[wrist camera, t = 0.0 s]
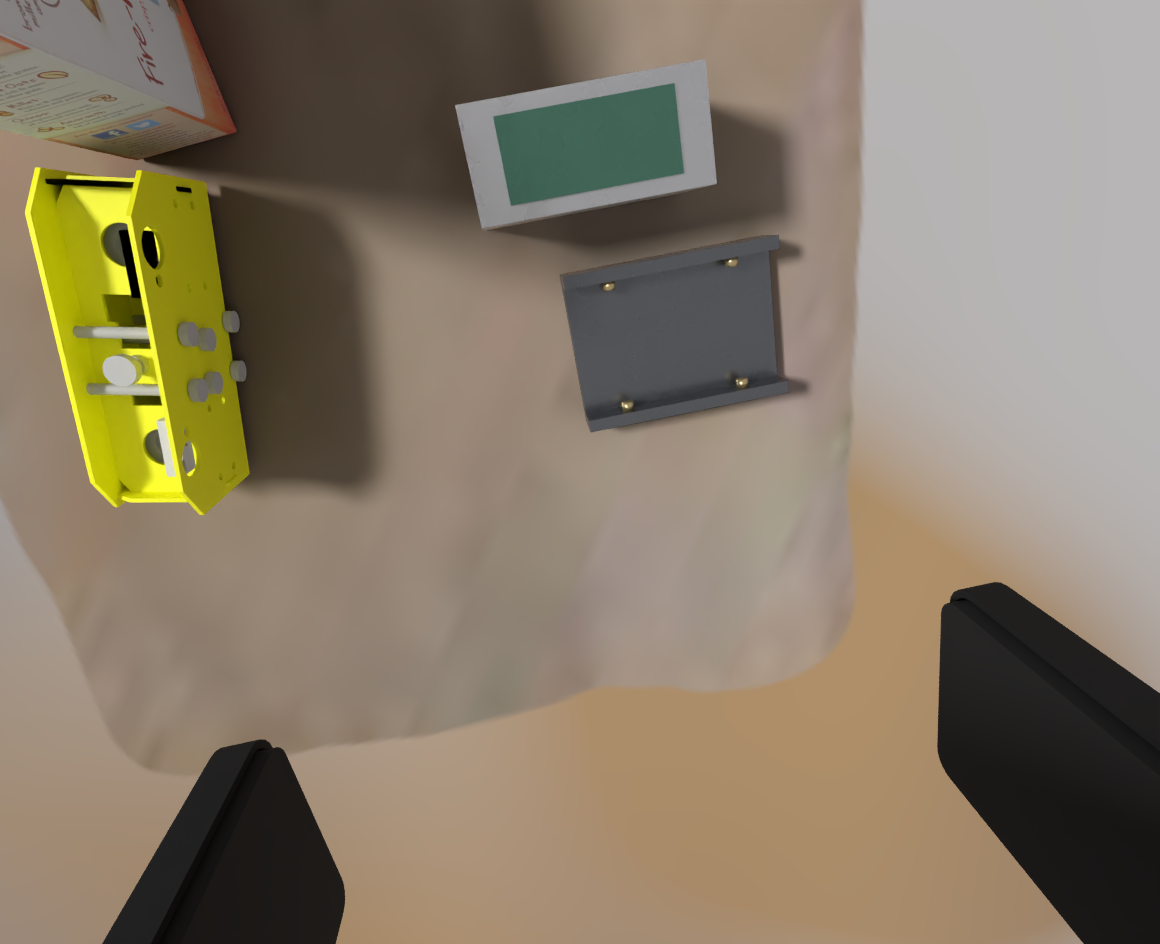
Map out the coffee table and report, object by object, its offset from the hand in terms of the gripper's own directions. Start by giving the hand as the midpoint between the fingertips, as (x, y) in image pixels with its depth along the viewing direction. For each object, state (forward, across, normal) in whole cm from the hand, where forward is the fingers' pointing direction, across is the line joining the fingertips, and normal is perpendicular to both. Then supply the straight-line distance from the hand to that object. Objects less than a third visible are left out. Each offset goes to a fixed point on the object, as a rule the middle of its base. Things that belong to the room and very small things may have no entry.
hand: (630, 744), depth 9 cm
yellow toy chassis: (+32, +19, -5) cm, 37 cm away
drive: (+31, -4, -10) cm, 33 cm away
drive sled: (+31, -8, 0) cm, 32 cm away
